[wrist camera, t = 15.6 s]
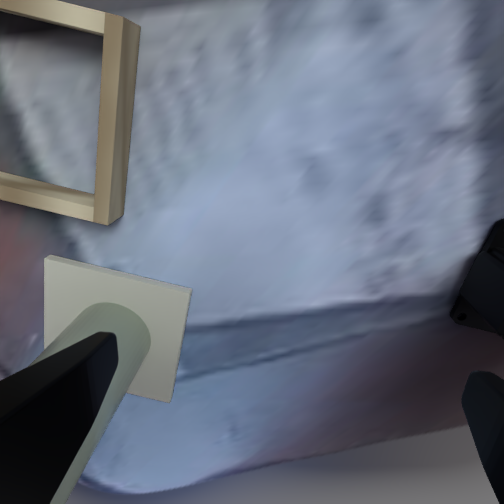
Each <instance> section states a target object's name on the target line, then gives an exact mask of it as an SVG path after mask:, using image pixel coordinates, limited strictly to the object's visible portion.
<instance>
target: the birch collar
mask: <svg viewBox="0 0 504 504" xmlns="http://www.w3.org/2000/svg"><path fill="white" fill-rule="evenodd" d="M0 11H3V12H7V13H11V14H15V15H19V16H23V17H27V18H31V19H35V20H39V21H43V22H47V23H51V24H55V25H59V26H63V27H67V28H71V29H75V30H79V31H83V32H87V33H91V34H95V35H99V36H103V37H104V39H103V57H102V74H101V92H100V109H99V126H98V144H97V161H96V179H95V195H94V194H90V193H86V192H82V191H78V190H74V189H70V188H66V187H62V186H57V185H53V184H49V183H45V182H41V181H37V180H33V179H29V178H25V177H20V176H16V175H12V174H8V173H4V172H0V199H1V200H5V201H9V202H13V203H17V204H21V205H25V206H29V207H34V208H38V209H42V210H46V211H50V212H54V213H58V214H62V215H67V216H71V217H75V218H79V219H83V220H87V221H91V222H95V223H100V224H104V225H109V224H111V223H112V222H114V221H115V220H117V219H118V218H120V217H121V216H123V214H124V203H125V192H126V181H127V170H128V159H129V148H130V137H131V126H132V115H133V105H134V94H135V83H136V72H137V61H138V50H139V39H140V28H141V27H140V26H139V25H137V24H135V23H133V22H132V21H130V20H128V19H126V18H124V17H122V16H118V15H114V14H110V13H106V12H102V11H98V10H94V9H90V8H85V7H81V6H77V5H73V4H69V3H65V2H61V1H57V0H0Z"/></svg>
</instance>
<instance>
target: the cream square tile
mask: <svg viewBox="0 0 504 504" xmlns="http://www.w3.org/2000/svg"><path fill="white" fill-rule="evenodd" d="M191 293H192V289H191V288H187V287H182V286H178V285H174V284H170V283H166V282H162V281H158V280H153V279H149V278H145V277H141V276H137V275H133V274H129V273H124V272H120V271H116V270H112V269H108V268H104V267H100V266H95V265H91V264H87V263H83V262H79V261H75V260H71V259H66V258H62V257H58V256H54V255H49V256H47V257H46V258H44V350H45V349H46V348H47V347H48V346H49V345H50V344H51V343H52V342H53V341H54V340H55V339H56V338H57V337H58V336H59V335H60V334H61V333H62V331H63V330H64V329H65V328H66V327H67V326H68V325H69V324H70V323H71V322H72V321H73V320H74V319H75V318H76V317H77V316H78V315H79V314H80V313H81V312H82V311H83V310H84V309H86V308H87V307H89V306H91V305H93V304H96V303H103V302H108V303H115V304H119V305H122V306H124V307H127V308H129V309H130V310H132V311H133V312H135V313H136V314H137V315H138V316H139V317H140V318H141V319H142V320H143V321H144V323H145V324H146V326H147V328H148V330H149V333H150V337H151V346H150V350H149V352H148V354H147V356H146V358H145V359H144V361H143V363H142V365H141V367H140V368H139V370H138V372H137V374H136V376H135V378H134V379H133V381H132V383H131V385H130V387H129V389H128V390H127V392H126V393H129V394H133V395H137V396H141V397H146V398H150V399H154V400H158V401H162V402H167V403H170V402H171V399H172V396H173V391H174V385H175V380H176V374H177V369H178V363H179V358H180V353H181V347H182V342H183V336H184V331H185V326H186V320H187V315H188V309H189V304H190V299H191Z"/></svg>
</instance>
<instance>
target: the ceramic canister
mask: <svg viewBox="0 0 504 504" xmlns="http://www.w3.org/2000/svg"><path fill="white" fill-rule="evenodd" d="M99 331H104V332H113V333H115V334H116V337H117V346H118V356H119V361H118V366H117V369H116V372H115V374H114V376H113V379H112V381H111V384H110V386H109V388H108V391H107V393H106V396H105V398H104V400H103V403H102V405H101V408H100V410H99V413H98V415H97V417H96V419H95V421H94V423H93V425H92V427H91V429H90V431H89V433H88V435H87V437H86V439H85V440H84V442H83V444H82V446H81V448H80V450H79V451H78V453H77V455H76V457H75V459H74V461H73V462H72V464H71V466H70V468H69V470H68V472H67V473H66V475H65V477H64V479H63V481H62V483H61V484H60V486H59V488H58V490H57V492H56V493H55V495H54V497H53V499H52V501H51V503H50V504H65V503H66V501H67V500H68V498H69V496H70V494H71V492H72V490H73V489H74V487H75V485H76V483H77V481H78V479H79V478H80V476H81V474H82V472H83V470H84V469H85V467H86V465H87V463H88V461H89V459H90V458H91V456H92V454H93V452H94V450H95V449H96V447H97V445H98V443H99V441H100V439H101V438H102V436H103V434H104V432H105V430H106V429H107V427H108V425H109V423H110V421H111V419H112V418H113V416H114V414H115V412H116V410H117V409H118V407H119V405H120V403H121V401H122V399H123V398H124V396H125V394H126V392H127V390H128V389H129V387H130V385H131V383H132V381H133V379H134V378H135V376H136V374H137V372H138V370H139V368H140V367H141V365H142V363H143V361H144V359H145V358H146V356H147V354H148V352H149V350H150V346H151V337H150V333H149V330H148V328H147V326H146V324H145V323H144V321H143V320H142V319H141V318H140V317H139V316H138V315H137V314H136V313H135V312H133V311H132V310H130V309H129V308H127V307H124V306H122V305H119V304H115V303H108V302H103V303H96V304H93V305H91V306H89V307H87V308H86V309H84V310H83V311H82V312H81V313H80V314H79V315H78V316H77V317H76V318H75V319H74V320H73V321H72V322H71V323H70V324H69V325H68V326H67V327H66V328H65V329H64V330H63V331H62V333H61V334H60V335H59V336H58V337H57V338H56V339H55V340H54V341H53V342H52V343H51V344H50V345H49V346H48V347H47V348H46V349H45V350H44V351H43V352H42V353H41V354H40V355H39V356H38V357H37V358H36V359H35V360H34V361H33V362H32V363H31V364H30V365H29V366H31V365H33V364H35V363H37V362H39V361H41V360H43V359H45V358H47V357H49V356H51V355H53V354H55V353H57V352H59V351H61V350H63V349H65V348H67V347H69V346H71V345H73V344H75V343H77V342H79V341H81V340H82V339H84V338H86V337H88V336H90V335H92V334H94V333H96V332H99ZM29 366H28V367H29Z"/></svg>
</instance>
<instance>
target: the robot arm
mask: <svg viewBox="0 0 504 504" xmlns="http://www.w3.org/2000/svg"><path fill="white" fill-rule="evenodd" d="M461 313H463V315H462V316H460V317H457V316H458V315H459V314H461ZM450 317H451V318H452V319H453V321H454V322H455V323H457V324H460V325H464V326H469V327H473V328H477V329H481V330H485V331H489V332H493V333H497V334H498V335H499V336H501V337H502V338H503V339H504V219H501V220H500V221H498V222H497V223H496V225H495V227H494V229H493V231H492V232H491V234H490V236H489V238H488V240H487V242H486V244H485V246H484V248H483V250H482V252H481V253H480V254H478V256H477V258H476V260H475V262H474V264H473V266H472V268H471V270H470V272H469V274H468V275H467V277H466V279H465V281H464V283H463V285H462V287H461V289H460V294H459V296H458V298H457V300H456V302H455V304H454V306H453V308H452V310H451V312H450ZM118 361H119V356H118V346H117V337H116V334H115V333H113V332H104V331H99V332H96V333H94V334H92V335H90V336H88V337H86V338H84V339H82V340H81V341H79V342H77V343H75V344H73V345H71V346H69V347H67V348H65V349H63V350H61V351H59V352H57V353H55V354H53V355H51V356H49V357H47V358H45V359H43V360H41V361H39V362H37V363H35V364H33V365H31V366H29V367H27V368H25V369H23V370H21V371H19V372H17V373H15V374H13V375H11V376H9V377H7V378H5V379H3V380H1V381H0V504H50V503H51V501H52V499H53V497H54V495H55V493H56V492H57V490H58V488H59V486H60V484H61V483H62V481H63V479H64V477H65V475H66V473H67V472H68V470H69V468H70V466H71V464H72V462H73V461H74V459H75V457H76V455H77V453H78V451H79V450H80V448H81V446H82V444H83V442H84V440H85V439H86V437H87V435H88V433H89V431H90V429H91V427H92V425H93V423H94V421H95V419H96V417H97V415H98V413H99V410H100V408H101V405H102V403H103V400H104V398H105V396H106V393H107V391H108V388H109V386H110V384H111V381H112V379H113V376H114V374H115V372H116V369H117V366H118ZM462 407H463V410H464V413H465V416H466V419H467V422H468V424H469V427H470V430H471V433H472V436H473V439H474V442H475V445H476V448H477V451H478V454H479V457H480V460H481V462H482V465H483V468H484V470H485V472H486V475H487V477H488V479H489V481H490V483H491V486H492V488H493V490H494V493H495V495H496V497H497V499H498V501H499V504H504V380H503V379H501V378H500V377H498V376H497V375H495V374H493V373H491V372H485V371H473V372H471V373H470V375H469V378H468V381H467V383H466V386H465V389H464V391H463V394H462Z"/></svg>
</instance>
